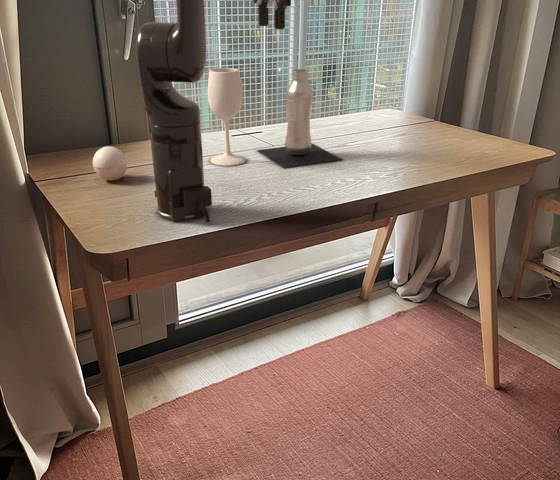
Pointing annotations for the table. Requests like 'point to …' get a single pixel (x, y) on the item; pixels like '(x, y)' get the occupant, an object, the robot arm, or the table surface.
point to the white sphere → (109, 163)
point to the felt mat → (299, 157)
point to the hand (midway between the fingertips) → (271, 27)
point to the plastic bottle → (299, 114)
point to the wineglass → (225, 106)
